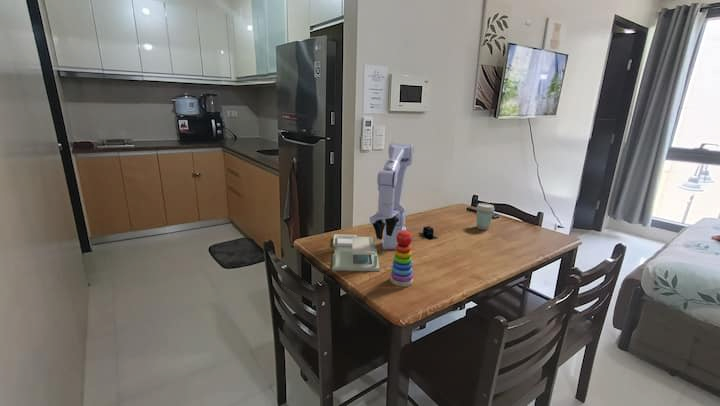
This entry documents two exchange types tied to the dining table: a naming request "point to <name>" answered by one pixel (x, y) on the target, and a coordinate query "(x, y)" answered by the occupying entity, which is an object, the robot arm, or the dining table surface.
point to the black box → (428, 233)
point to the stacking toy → (402, 261)
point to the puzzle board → (353, 260)
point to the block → (362, 258)
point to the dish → (343, 240)
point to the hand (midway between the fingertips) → (384, 237)
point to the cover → (362, 245)
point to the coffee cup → (484, 215)
